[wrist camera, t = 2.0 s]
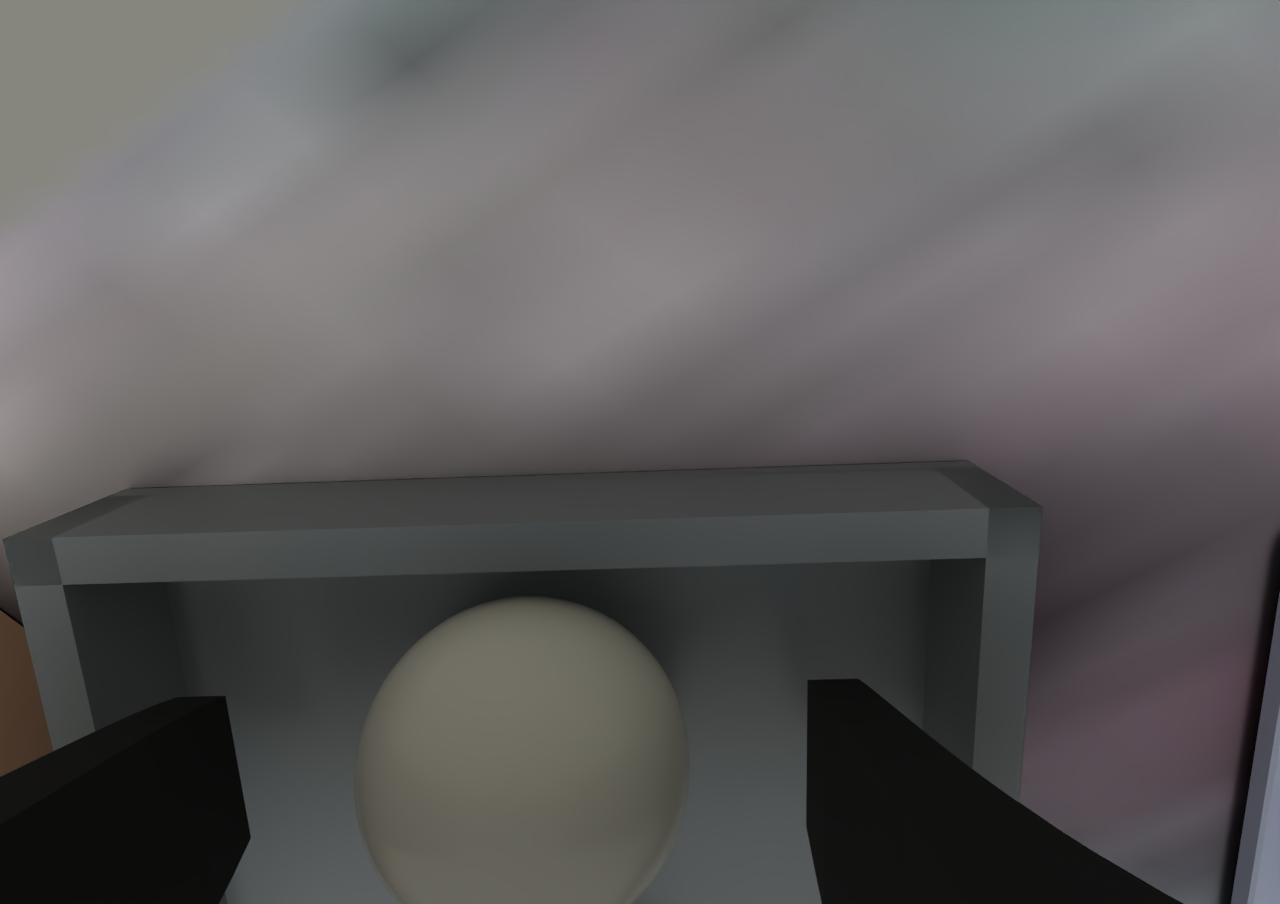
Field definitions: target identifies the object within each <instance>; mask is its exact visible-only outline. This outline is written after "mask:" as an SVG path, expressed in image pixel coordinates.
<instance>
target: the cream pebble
mask: <svg viewBox="0 0 1280 904" xmlns="http://www.w3.org/2000/svg"><path fill="white" fill-rule="evenodd" d="M689 772H690V752H689V742H688V735H687V729H686V724H685V720H684V717H683V713H682V709H681V706H680V704H679V701H678V699H677V696H676V694H675V692H674V689H673V687H672V685H671V682H670V680H669V679H668V677H667V675H666V674H665V672H664V670H663V669H662V667H661V665H660V664H659V663H658V661H657V660H656V659H655V657H654V656H653V655H652V654H651V652H650V651H649V650H648V649H647V648H646V646H645V645H644V644H643V643H642V642H641V641H640V640H639V639H638V638H637V637H636V636H634V635H633V634H632V633H631V632H630V631H629V630H628V629H626V628H625V627H624V626H622V625H621V624H620V623H618V622H617V621H615V620H614V619H612V618H610V617H608V616H607V615H605V614H603V613H601V612H600V611H597V610H595V609H592V608H590V607H588V606H585V605H583V604H580V603H576V602H573V601H569V600H565V599H560V598H554V597H547V596H516V597H507V598H502V599H498V600H493V601H489V602H486V603H483V604H480V605H477V606H475V607H472V608H469V609H466V610H464V611H462V612H460V613H458V614H456V615H454V616H452V617H450V618H448V619H446V620H445V621H444V622H442V623H441V624H439V625H438V626H436V627H435V628H433V629H432V630H431V631H429V632H428V633H427V634H425V635H424V636H423V637H421V638H420V639H419V640H418V641H417V642H416V643H415V644H414V645H413V646H412V647H411V648H410V649H409V650H408V651H407V652H406V653H405V654H404V655H403V657H402V658H401V659H400V660H399V662H398V663H397V664H396V665H395V666H394V668H393V669H392V670H391V671H390V673H389V674H388V675H387V677H386V679H385V681H384V682H383V684H382V686H381V687H380V689H379V691H378V693H377V694H376V696H375V698H374V700H373V702H372V704H371V707H370V709H369V712H368V714H367V717H366V719H365V722H364V725H363V729H362V732H361V736H360V740H359V744H358V748H357V752H356V762H355V775H354V800H355V810H356V816H357V822H358V826H359V831H360V836H361V839H362V842H363V844H364V847H365V850H366V852H367V855H368V857H369V860H370V862H371V864H372V866H373V868H374V870H375V872H376V874H377V876H378V878H379V879H380V881H381V883H382V884H383V885H384V887H385V888H386V890H387V891H388V892H389V894H390V895H391V896H392V897H393V898H394V900H395V901H396V902H397V903H398V904H633V903H634V902H635V901H636V900H637V899H638V898H639V897H640V896H641V894H642V893H643V892H644V891H645V889H646V888H647V887H648V886H649V884H650V883H651V882H652V880H653V879H654V877H655V876H656V875H657V873H658V872H659V871H660V869H661V867H662V865H663V863H664V862H665V860H666V858H667V856H668V854H669V852H670V850H671V848H672V846H673V844H674V842H675V840H676V837H677V834H678V831H679V828H680V826H681V823H682V819H683V815H684V811H685V806H686V801H687V796H688V791H689Z"/></svg>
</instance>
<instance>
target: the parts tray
mask: <svg viewBox="0 0 1280 904" xmlns="http://www.w3.org/2000/svg"><path fill="white" fill-rule="evenodd" d="M1042 509H1043V507H1042V506H1041V505H1039V504H1037V503H1036V502H1034V501H1033V500H1031V499H1029V498H1028V497H1026V496H1024V495H1023V494H1021V493H1020V492H1018V491H1016V490H1015V489H1013V488H1011V487H1010V486H1008V485H1006V484H1005V483H1003V482H1002V481H1000V480H998V479H997V478H995V477H993V476H992V475H990V474H989V473H987V472H985V471H984V470H982V469H980V468H979V467H977V466H976V465H974V464H972V463H971V462H969V461H947V462H917V463H887V464H857V465H827V466H797V467H767V468H737V469H706V470H676V471H646V472H616V473H586V474H556V475H526V476H496V477H466V478H436V479H406V480H376V481H346V482H316V483H286V484H256V485H226V486H196V487H166V488H136V489H125V490H122V491H120V492H118V493H115V494H113V495H110V496H108V497H105V498H103V499H100V500H98V501H95V502H93V503H91V504H88V505H86V506H83V507H81V508H78V509H76V510H73V511H71V512H68V513H66V514H64V515H61V516H59V517H56V518H54V519H51V520H49V521H46V522H44V523H41V524H39V525H37V526H34V527H32V528H29V529H27V530H24V531H22V532H19V533H17V534H14V535H12V536H10V537H7V538H5V539H3V542H4V546H5V550H6V554H7V559H8V563H9V567H10V571H11V575H12V580H13V584H14V588H15V592H16V596H17V600H18V605H19V609H20V613H21V617H22V621H23V626H24V630H25V634H26V638H27V642H28V646H29V651H30V655H31V659H32V663H33V667H34V672H35V676H36V680H37V684H38V688H39V692H40V697H41V701H42V705H43V709H44V713H45V718H46V722H47V726H48V730H49V734H50V738H51V743H52V747H53V751H55V750H57V749H59V748H61V747H63V746H65V745H67V744H70V743H72V742H74V741H76V740H78V739H80V738H82V737H84V736H86V735H88V734H91V733H93V732H95V731H97V730H99V729H101V728H103V727H106V726H108V725H110V724H112V723H114V722H116V721H119V720H121V719H123V718H125V717H128V716H130V715H132V714H134V713H137V712H139V711H141V710H144V709H146V708H149V707H151V706H154V705H156V704H159V703H162V702H165V701H167V700H170V699H173V698H176V697H194V696H226V702H227V707H228V713H229V718H230V724H231V729H232V735H233V741H234V746H235V752H236V757H237V763H238V768H239V774H240V779H241V785H242V791H243V796H244V802H245V807H246V813H247V818H248V824H249V830H250V835H251V839H250V841H249V843H248V845H247V848H246V850H245V852H244V854H243V856H242V858H241V860H240V862H239V864H238V867H237V869H236V871H235V873H234V875H233V877H232V879H231V881H230V883H229V885H228V887H227V889H226V891H225V893H224V895H223V897H222V899H221V901H220V903H219V904H398V903H397V902H396V901H395V900H394V898H393V897H392V896H391V895H390V894H389V892H388V891H387V890H386V888H385V887H384V885H383V884H382V883H381V881H380V879H379V878H378V876H377V874H376V872H375V870H374V868H373V866H372V864H371V862H370V860H369V857H368V855H367V852H366V850H365V847H364V844H363V842H362V839H361V836H360V831H359V826H358V822H357V816H356V810H355V800H354V775H355V762H356V752H357V748H358V744H359V740H360V736H361V732H362V729H363V725H364V722H365V719H366V717H367V714H368V712H369V709H370V707H371V704H372V702H373V700H374V698H375V696H376V694H377V693H378V691H379V689H380V687H381V686H382V684H383V682H384V681H385V679H386V677H387V675H388V674H389V673H390V671H391V670H392V669H393V668H394V666H395V665H396V664H397V663H398V662H399V660H400V659H401V658H402V657H403V655H404V654H405V653H406V652H407V651H408V650H409V649H410V648H411V647H412V646H413V645H414V644H415V643H416V642H417V641H418V640H419V639H420V638H421V637H423V636H424V635H425V634H427V633H428V632H429V631H431V630H432V629H433V628H435V627H436V626H438V625H439V624H441V623H442V622H444V621H445V620H446V619H448V618H450V617H452V616H454V615H456V614H458V613H460V612H462V611H464V610H466V609H469V608H472V607H475V606H477V605H480V604H483V603H486V602H489V601H493V600H498V599H502V598H507V597H516V596H547V597H554V598H560V599H565V600H569V601H573V602H576V603H580V604H583V605H585V606H588V607H590V608H592V609H595V610H597V611H600V612H601V613H603V614H605V615H607V616H608V617H610V618H612V619H614V620H615V621H617V622H618V623H620V624H621V625H622V626H624V627H625V628H626V629H628V630H629V631H630V632H631V633H632V634H633V635H634V636H636V637H637V638H638V639H639V640H640V641H641V642H642V643H643V644H644V645H645V646H646V648H647V649H648V650H649V651H650V652H651V654H652V655H653V656H654V657H655V659H656V660H657V661H658V663H659V664H660V665H661V667H662V669H663V670H664V672H665V674H666V675H667V677H668V679H669V680H670V682H671V685H672V687H673V689H674V692H675V694H676V696H677V699H678V701H679V704H680V706H681V709H682V713H683V717H684V720H685V724H686V729H687V735H688V742H689V752H690V772H689V791H688V796H687V801H686V806H685V811H684V815H683V819H682V823H681V826H680V828H679V831H678V834H677V837H676V840H675V842H674V844H673V846H672V848H671V850H670V852H669V854H668V856H667V858H666V860H665V862H664V863H663V865H662V867H661V869H660V871H659V872H658V873H657V875H656V876H655V877H654V879H653V880H652V882H651V883H650V884H649V886H648V887H647V888H646V889H645V891H644V892H643V893H642V894H641V896H640V897H639V898H638V899H637V900H636V901H635V902H634V903H633V904H822V902H821V897H820V893H819V888H818V883H817V878H816V874H815V869H814V863H813V858H812V853H811V848H810V843H809V838H808V833H807V828H806V789H807V680H822V679H859V680H861V681H862V682H864V683H865V684H866V685H868V686H869V687H870V688H871V689H873V690H874V691H875V692H876V693H878V694H879V695H880V696H881V697H883V698H884V699H885V700H886V701H887V702H889V703H890V704H891V705H892V706H894V707H895V708H896V709H897V710H898V711H900V712H901V713H902V714H903V715H905V716H906V717H907V718H908V719H909V720H911V721H912V722H913V723H914V724H916V725H917V726H918V727H919V728H921V729H922V730H923V731H924V732H926V733H927V734H928V735H929V736H931V737H932V738H933V739H934V740H936V741H937V742H938V743H939V744H941V745H942V746H943V747H944V748H946V749H947V750H948V751H950V752H951V753H952V754H953V755H955V756H956V757H957V758H959V759H960V760H961V761H963V762H964V763H965V764H967V765H968V766H969V767H971V768H972V769H973V770H974V771H976V772H977V773H978V774H980V775H981V776H983V777H984V778H985V779H987V780H988V781H989V782H991V783H992V784H994V785H995V786H996V787H998V788H999V789H1000V790H1002V791H1003V792H1005V793H1006V794H1007V795H1009V796H1010V797H1012V798H1013V799H1015V800H1016V801H1018V802H1019V796H1020V784H1021V771H1022V759H1023V746H1024V734H1025V721H1026V709H1027V696H1028V684H1029V671H1030V659H1031V646H1032V634H1033V622H1034V609H1035V597H1036V584H1037V572H1038V559H1039V547H1040V534H1041V522H1042Z"/></svg>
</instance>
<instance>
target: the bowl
mask: <svg viewBox="0 0 1280 904" xmlns="http://www.w3.org/2000/svg"><path fill="white" fill-rule="evenodd" d="M51 752H53V747H52V743H51V738H50V734H49V730H48V726H47V722H46V718H45V713H44V709H43V705H42V701H41V697H40V692H39V688H38V684H37V680H36V676H35V672H34V667H33V663H32V659H31V655H30V651H29V646H28V642H27V638H26V634H25V630H24V628H23V627H22V626H21V625H19V624H18V623H17V622H15V621H14V620H13V619H11V618H10V617H9V616H7V615H6V614H5V613H3V612H2V611H1V610H0V777H1V776H3V775H5V774H7V773H9V772H11V771H13V770H15V769H17V768H20V767H22V766H24V765H26V764H28V763H30V762H32V761H34V760H36V759H38V758H40V757H42V756H44V755H47V754H49V753H51Z"/></svg>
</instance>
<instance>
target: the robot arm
mask: <svg viewBox="0 0 1280 904" xmlns="http://www.w3.org/2000/svg"><path fill="white" fill-rule="evenodd" d="M806 828H807V833H808V838H809V843H810V848H811V853H812V858H813V863H814V869H815V874H816V878H817V883H818V888H819V893H820V897H821V902H822V904H1183V903H1181V902H1179V901H1177V900H1176V899H1174V898H1172V897H1170V896H1168V895H1167V894H1165V893H1163V892H1161V891H1160V890H1158V889H1156V888H1154V887H1153V886H1151V885H1149V884H1148V883H1146V882H1144V881H1143V880H1141V879H1139V878H1137V877H1136V876H1134V875H1132V874H1131V873H1129V872H1127V871H1126V870H1124V869H1122V868H1120V867H1119V866H1117V865H1115V864H1114V863H1112V862H1110V861H1109V860H1107V859H1105V858H1103V857H1102V856H1100V855H1098V854H1097V853H1095V852H1093V851H1092V850H1090V849H1088V848H1087V847H1085V846H1084V845H1082V844H1081V843H1079V842H1077V841H1076V840H1074V839H1073V838H1071V837H1069V836H1068V835H1066V834H1065V833H1063V832H1062V831H1060V830H1059V829H1057V828H1056V827H1054V826H1053V825H1051V824H1050V823H1048V822H1047V821H1045V820H1044V819H1042V818H1041V817H1040V816H1038V815H1037V814H1035V813H1034V812H1032V811H1031V810H1029V809H1028V808H1026V807H1025V806H1023V805H1022V804H1021V803H1019V802H1018V801H1016V800H1015V799H1013V798H1012V797H1010V796H1009V795H1007V794H1006V793H1005V792H1003V791H1002V790H1000V789H999V788H998V787H996V786H995V785H994V784H992V783H991V782H989V781H988V780H987V779H985V778H984V777H983V776H981V775H980V774H978V773H977V772H976V771H974V770H973V769H972V768H971V767H969V766H968V765H967V764H965V763H964V762H963V761H961V760H960V759H959V758H957V757H956V756H955V755H953V754H952V753H951V752H950V751H948V750H947V749H946V748H944V747H943V746H942V745H941V744H939V743H938V742H937V741H936V740H934V739H933V738H932V737H931V736H929V735H928V734H927V733H926V732H924V731H923V730H922V729H921V728H919V727H918V726H917V725H916V724H914V723H913V722H912V721H911V720H909V719H908V718H907V717H906V716H905V715H903V714H902V713H901V712H900V711H898V710H897V709H896V708H895V707H894V706H892V705H891V704H890V703H889V702H887V701H886V700H885V699H884V698H883V697H881V696H880V695H879V694H878V693H876V692H875V691H874V690H873V689H871V688H870V687H869V686H868V685H866V684H865V683H864V682H862V681H861V680H859V679H822V680H807V789H806ZM250 839H251V835H250V830H249V824H248V818H247V813H246V807H245V802H244V796H243V791H242V785H241V779H240V774H239V768H238V763H237V757H236V752H235V746H234V741H233V735H232V729H231V724H230V718H229V713H228V707H227V702H226V696H194V697H176V698H173V699H170V700H167V701H165V702H162V703H159V704H156V705H154V706H151V707H149V708H146V709H144V710H141V711H139V712H137V713H134V714H132V715H130V716H128V717H125V718H123V719H121V720H119V721H116V722H114V723H112V724H110V725H108V726H106V727H103V728H101V729H99V730H97V731H95V732H93V733H91V734H88V735H86V736H84V737H82V738H80V739H78V740H76V741H74V742H72V743H70V744H67V745H65V746H63V747H61V748H59V749H57V750H55V751H53V752H51V753H49V754H47V755H44V756H42V757H40V758H38V759H36V760H34V761H32V762H30V763H28V764H26V765H24V766H22V767H20V768H17V769H15V770H13V771H11V772H9V773H7V774H5V775H3V776H1V777H0V904H219V903H220V901H221V899H222V897H223V895H224V893H225V891H226V889H227V887H228V885H229V883H230V881H231V879H232V877H233V875H234V873H235V871H236V869H237V867H238V864H239V862H240V860H241V858H242V856H243V854H244V852H245V850H246V848H247V845H248V843H249V841H250ZM1231 904H1280V593H1279V599H1278V606H1277V612H1276V619H1275V625H1274V631H1273V638H1272V644H1271V651H1270V657H1269V663H1268V670H1267V676H1266V683H1265V689H1264V695H1263V702H1262V708H1261V715H1260V721H1259V727H1258V734H1257V740H1256V746H1255V753H1254V759H1253V766H1252V772H1251V778H1250V785H1249V791H1248V798H1247V804H1246V810H1245V817H1244V823H1243V830H1242V836H1241V842H1240V849H1239V855H1238V862H1237V868H1236V874H1235V881H1234V887H1233V894H1232V900H1231Z"/></svg>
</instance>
